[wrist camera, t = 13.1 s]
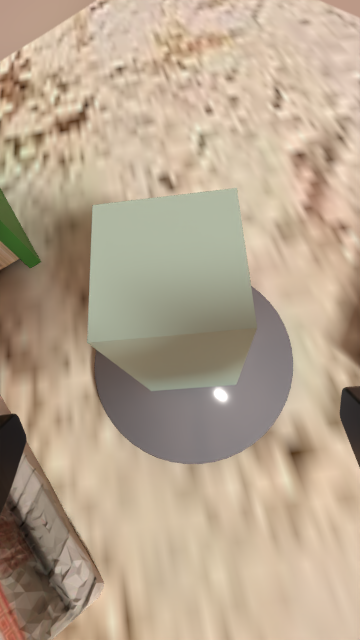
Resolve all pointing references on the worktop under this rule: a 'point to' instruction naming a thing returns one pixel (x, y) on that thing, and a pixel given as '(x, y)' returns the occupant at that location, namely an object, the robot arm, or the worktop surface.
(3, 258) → the hardback book
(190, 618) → the worktop surface
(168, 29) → the worktop surface
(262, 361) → the charcoal pad
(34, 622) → the packaged product
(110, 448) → the worktop surface
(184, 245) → the block
